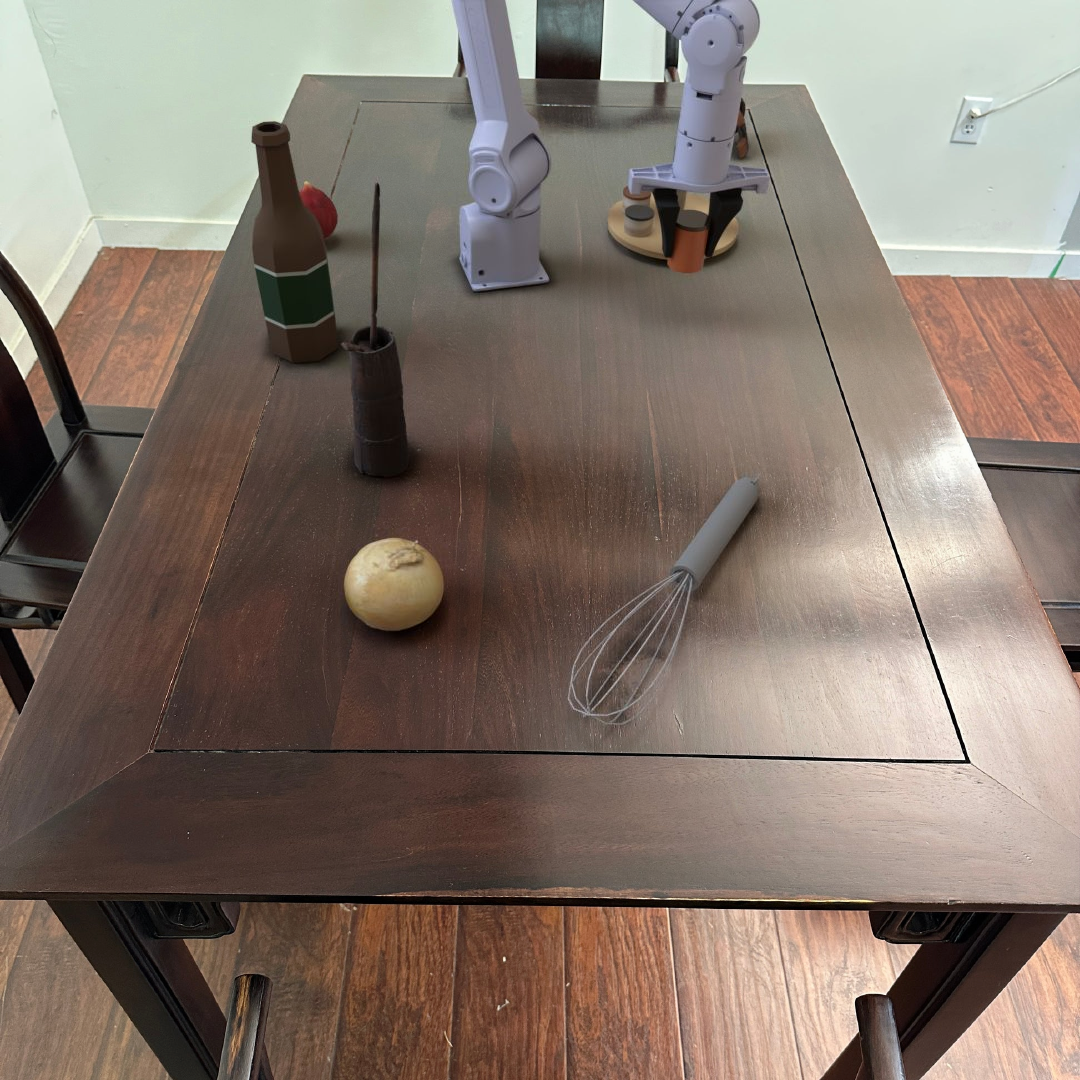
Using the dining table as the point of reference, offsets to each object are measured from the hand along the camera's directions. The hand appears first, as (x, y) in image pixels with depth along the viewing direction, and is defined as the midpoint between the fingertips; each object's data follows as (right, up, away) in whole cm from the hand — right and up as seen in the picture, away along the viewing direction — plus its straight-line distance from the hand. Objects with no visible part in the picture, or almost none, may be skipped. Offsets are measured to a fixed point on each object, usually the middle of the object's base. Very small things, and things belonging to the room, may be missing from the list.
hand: (687, 252), depth 107 cm
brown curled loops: (+11, +28, +39) cm, 49 cm away
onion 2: (-28, -38, -26) cm, 54 cm away
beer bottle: (-42, -10, 0) cm, 44 cm away
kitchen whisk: (-5, -37, -24) cm, 44 cm away
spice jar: (0, -1, +1) cm, 1 cm away
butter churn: (-32, -25, -14) cm, 43 cm away
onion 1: (-45, +6, +16) cm, 48 cm away
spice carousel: (+1, +9, +19) cm, 21 cm away
